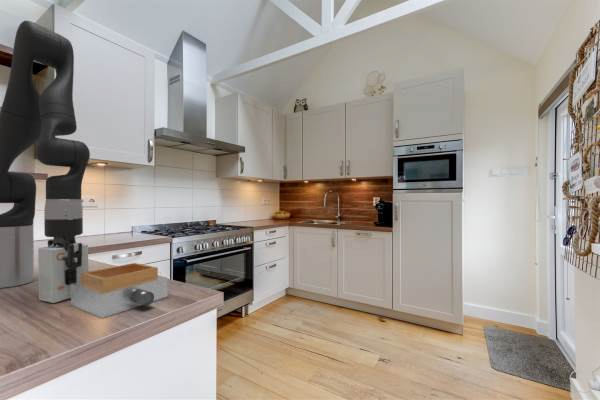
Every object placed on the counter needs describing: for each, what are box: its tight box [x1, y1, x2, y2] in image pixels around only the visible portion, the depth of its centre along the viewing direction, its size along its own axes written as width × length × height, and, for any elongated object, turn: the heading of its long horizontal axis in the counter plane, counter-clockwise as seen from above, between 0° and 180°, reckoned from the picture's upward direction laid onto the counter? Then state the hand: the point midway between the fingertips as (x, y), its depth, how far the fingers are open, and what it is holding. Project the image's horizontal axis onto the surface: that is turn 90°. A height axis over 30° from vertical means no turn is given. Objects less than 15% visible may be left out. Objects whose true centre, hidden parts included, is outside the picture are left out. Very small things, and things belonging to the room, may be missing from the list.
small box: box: [37, 243, 89, 304], centre depth 72 cm, size 8×6×13 cm
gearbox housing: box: [70, 262, 168, 319], centre depth 69 cm, size 19×15×8 cm
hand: (64, 281), depth 72 cm, fingers closed on small box, 6 cm apart
